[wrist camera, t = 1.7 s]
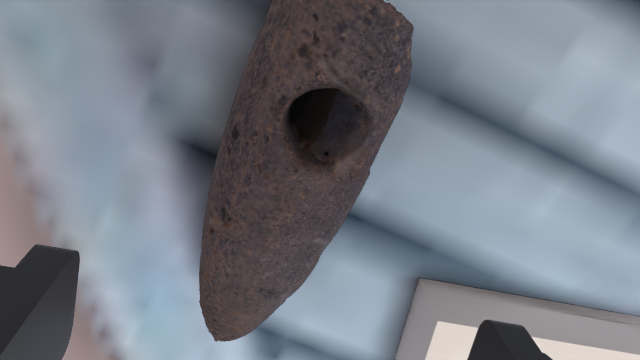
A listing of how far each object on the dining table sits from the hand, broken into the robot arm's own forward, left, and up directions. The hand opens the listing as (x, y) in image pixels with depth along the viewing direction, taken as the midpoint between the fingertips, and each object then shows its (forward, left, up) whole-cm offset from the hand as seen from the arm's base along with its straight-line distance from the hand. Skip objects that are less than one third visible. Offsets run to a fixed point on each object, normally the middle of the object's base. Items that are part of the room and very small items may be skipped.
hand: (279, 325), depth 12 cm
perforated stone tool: (0, 0, -14) cm, 14 cm away
